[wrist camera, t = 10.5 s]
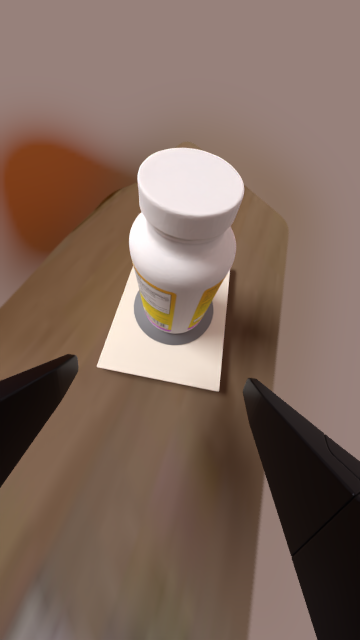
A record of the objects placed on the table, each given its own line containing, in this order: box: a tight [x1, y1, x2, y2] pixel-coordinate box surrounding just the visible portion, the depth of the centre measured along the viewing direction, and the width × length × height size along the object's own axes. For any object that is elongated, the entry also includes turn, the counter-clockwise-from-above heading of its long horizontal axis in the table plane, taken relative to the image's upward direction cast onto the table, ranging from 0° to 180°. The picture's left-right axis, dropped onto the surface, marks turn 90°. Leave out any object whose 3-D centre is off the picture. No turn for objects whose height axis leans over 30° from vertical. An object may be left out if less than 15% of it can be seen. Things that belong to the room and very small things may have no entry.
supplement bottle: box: [129, 148, 244, 334], centre depth 13 cm, size 7×7×13 cm
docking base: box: [97, 266, 230, 392], centre depth 20 cm, size 16×12×1 cm
